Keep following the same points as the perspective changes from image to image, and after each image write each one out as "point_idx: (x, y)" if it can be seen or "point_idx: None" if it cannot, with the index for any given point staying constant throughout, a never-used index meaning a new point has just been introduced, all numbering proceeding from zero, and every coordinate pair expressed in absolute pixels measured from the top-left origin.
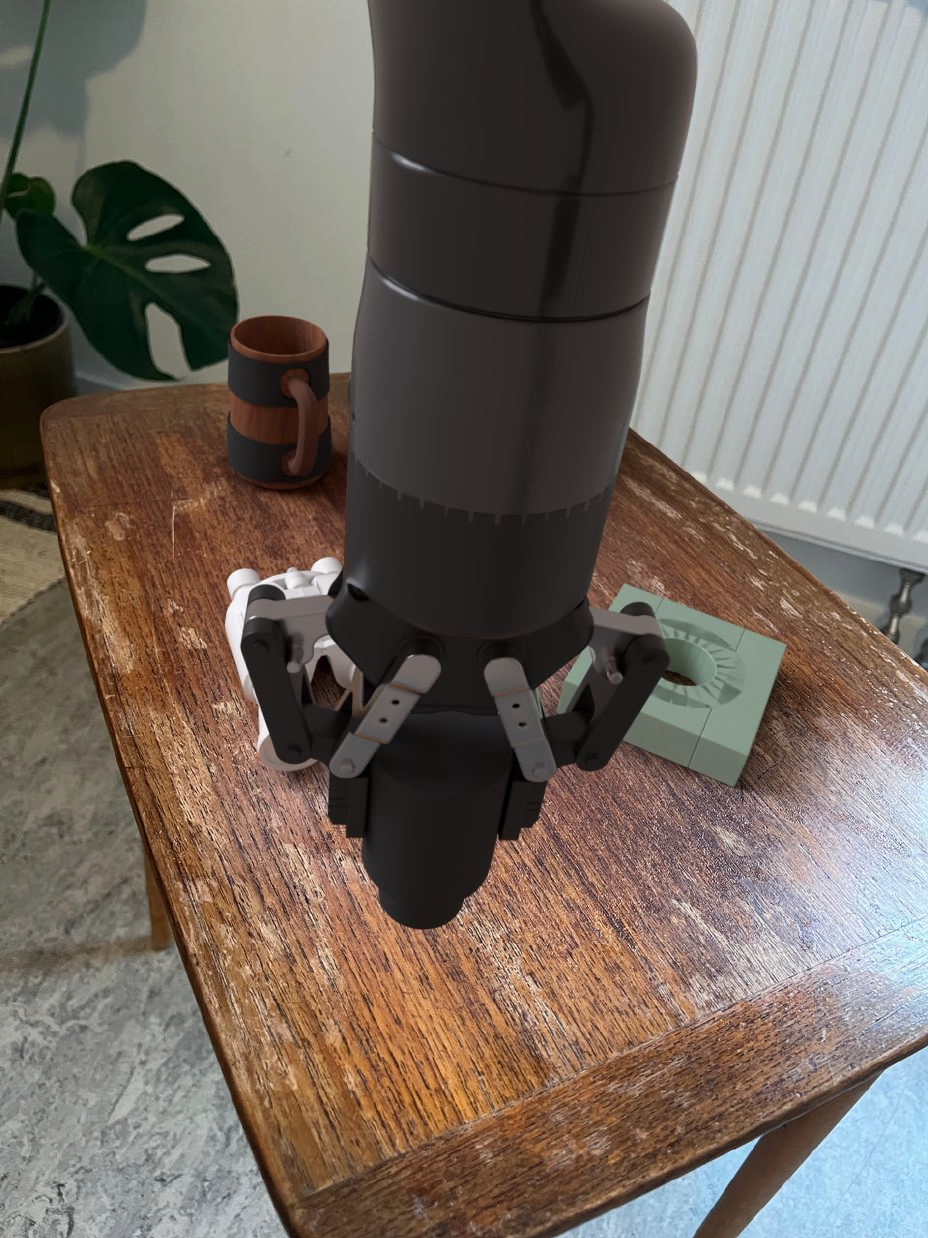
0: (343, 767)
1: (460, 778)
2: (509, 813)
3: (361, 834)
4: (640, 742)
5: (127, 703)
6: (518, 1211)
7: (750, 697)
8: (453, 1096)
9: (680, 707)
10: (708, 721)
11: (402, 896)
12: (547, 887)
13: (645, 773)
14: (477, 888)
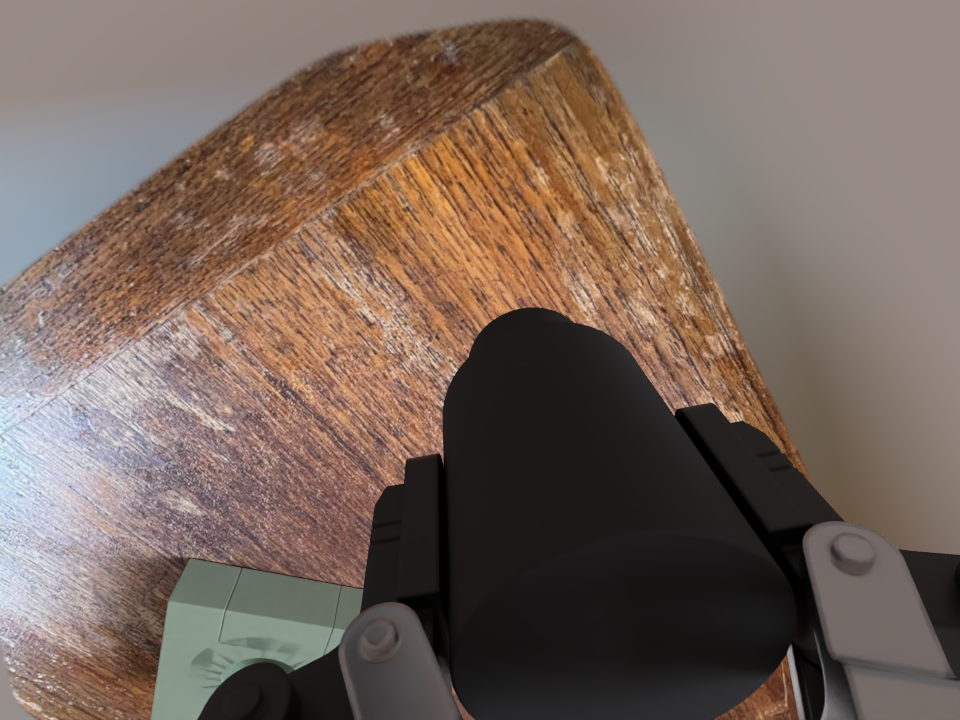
0: (867, 552)
1: (578, 587)
2: (431, 509)
3: (690, 414)
4: (295, 583)
5: None
6: (341, 65)
7: (178, 662)
8: (431, 179)
9: (253, 635)
10: (219, 627)
11: (582, 331)
12: (367, 417)
13: (285, 552)
14: (459, 370)
